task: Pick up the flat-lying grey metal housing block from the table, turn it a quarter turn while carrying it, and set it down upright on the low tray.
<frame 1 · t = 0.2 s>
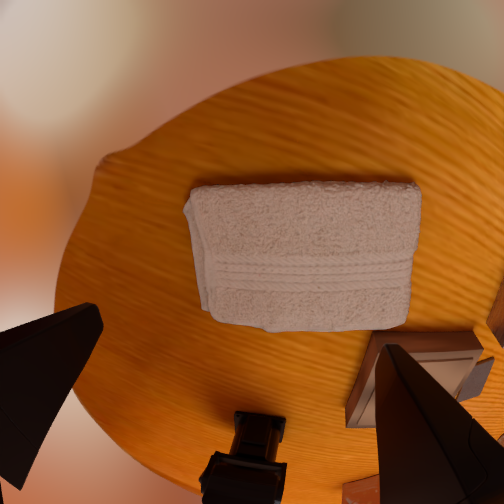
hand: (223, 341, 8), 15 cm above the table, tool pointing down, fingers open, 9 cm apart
washcloth: (306, 250, 22), on the table
small box: (366, 481, 37), on the table
tray: (408, 375, 24), on the table
cover plate: (472, 377, 24), on the table
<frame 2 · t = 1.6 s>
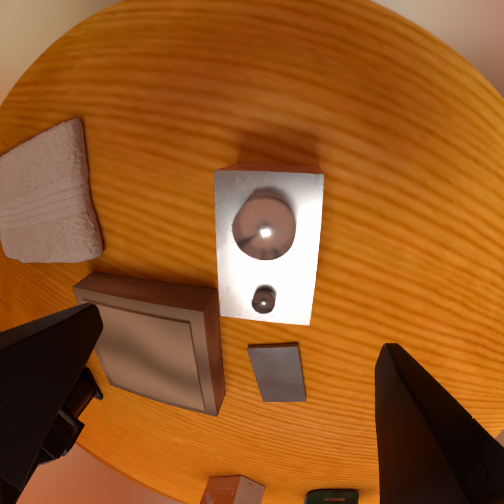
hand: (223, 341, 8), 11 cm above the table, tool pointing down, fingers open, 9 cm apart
washcloth: (42, 196, 22), on the table
coffee jar: (331, 493, 33), on the table
small box: (236, 481, 36), on the table
tray: (158, 337, 24), on the table
cover plate: (280, 369, 23), on the table
housing: (276, 227, 18), on the table
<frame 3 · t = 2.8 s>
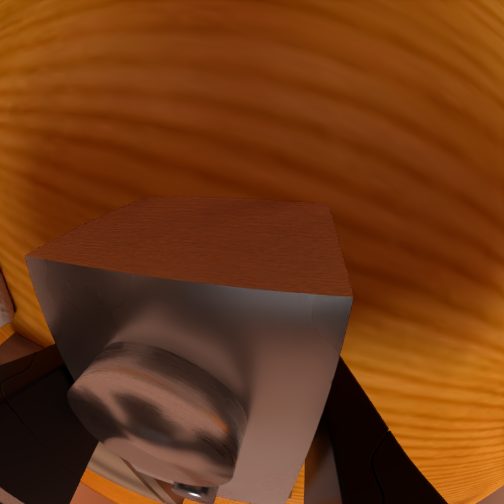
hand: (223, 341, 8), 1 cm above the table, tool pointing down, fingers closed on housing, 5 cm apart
tray: (100, 419, 14), on the table
housing: (233, 323, 9), on the table, touching gripper
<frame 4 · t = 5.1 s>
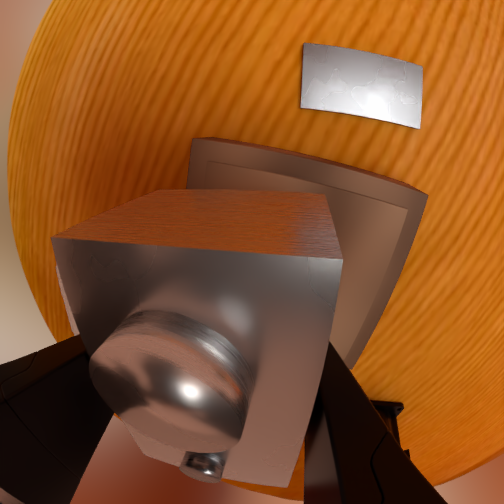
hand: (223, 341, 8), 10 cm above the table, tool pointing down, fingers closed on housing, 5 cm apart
tray: (291, 251, 17), on the table
cover plate: (362, 85, 13), on the table
housing: (238, 308, 9), point 9 cm above the table, touching gripper
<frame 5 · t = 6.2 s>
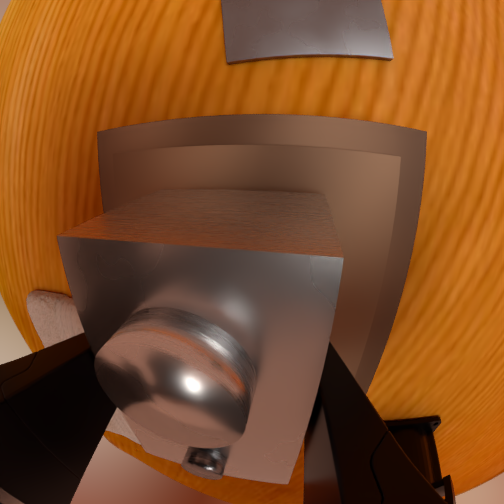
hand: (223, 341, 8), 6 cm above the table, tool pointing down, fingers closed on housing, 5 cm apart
washcloth: (113, 373, 21), on the table
tray: (257, 253, 13), on the table
cover plate: (305, 23, 9), on the table
housing: (239, 307, 10), point 4 cm above the table, touching gripper
when the fingers open (5 cm above the table, at t = 6.8 s): housing stays where it is, resting on tray.
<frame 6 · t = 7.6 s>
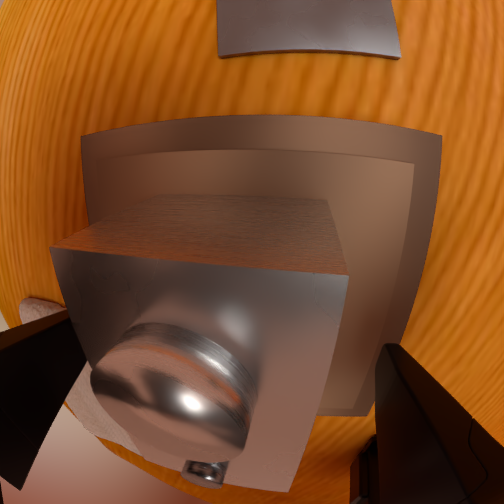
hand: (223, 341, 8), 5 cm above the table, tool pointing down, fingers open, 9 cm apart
washcloth: (107, 382, 20), on the table
tray: (254, 266, 12), on the table
cover plate: (306, 17, 8), on the table
housing: (239, 314, 9), point 3 cm above the table, touching tray
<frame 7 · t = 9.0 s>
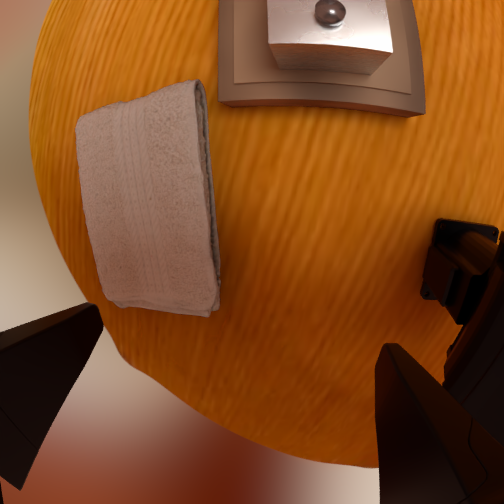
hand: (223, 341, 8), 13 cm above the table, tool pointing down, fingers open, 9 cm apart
washcloth: (151, 204, 22), on the table
tray: (319, 28, 14), on the table
housing: (322, 12, 11), point 3 cm above the table, touching tray
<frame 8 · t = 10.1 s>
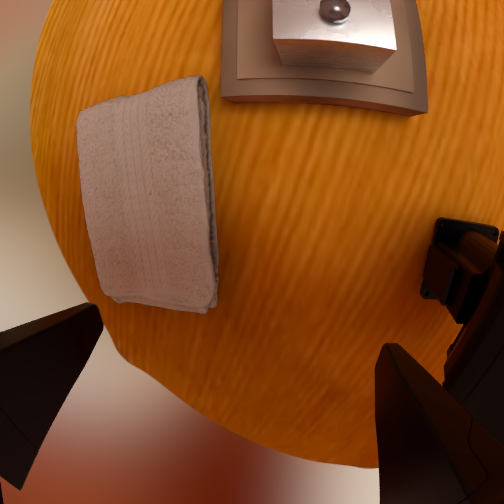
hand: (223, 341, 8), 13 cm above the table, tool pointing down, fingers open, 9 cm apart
washcloth: (151, 200, 22), on the table
tray: (322, 26, 14), on the table
housing: (326, 10, 11), point 3 cm above the table, touching tray
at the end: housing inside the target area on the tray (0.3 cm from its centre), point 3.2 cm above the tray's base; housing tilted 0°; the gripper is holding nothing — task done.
